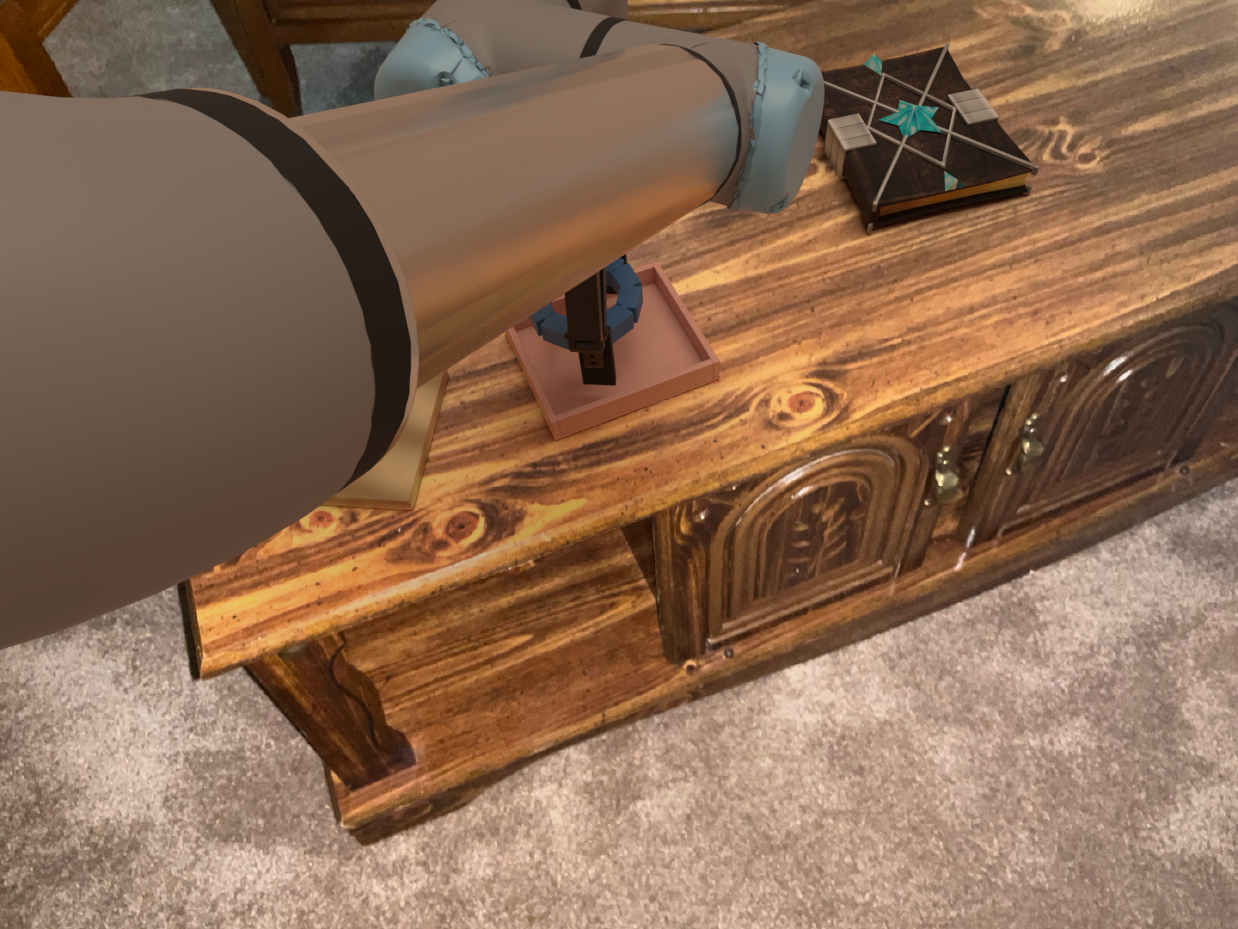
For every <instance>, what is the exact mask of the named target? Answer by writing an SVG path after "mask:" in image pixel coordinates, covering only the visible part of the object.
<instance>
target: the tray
mask: <svg viewBox="0 0 1238 929" xmlns="http://www.w3.org/2000/svg"><path fill="white" fill-rule="evenodd" d="M632 269H633V270H634V272H635V273H636V275H637V276H638V278H639V279H640V281H641V287H642V292H643V304H642V308H641V312H640V316H639V320H638V323H634V328H633V329H632V330H631V331H629V332H628V333H627V334H625V335H624V336H623V337H621V338H620V339H619V340H617V341H616V342H615V343H613V353H614V361H615V370H616V378H617V379H616V386H611V385H588V384H583V379H582V372H581V366H580V360H579V354H578V352H570V350H567V349H565V348H562V347H560V346H557V345H555V344H552V343H550V342H547V341H544V340H543V336H538V334H537V332H536V330H535V329H534V327H533V325H532V323H531V321H530V320H529V318H526V319H525V320H523V321H521V322H520V323H518V324H517V325H515V326H514V327H512V328H511V329H509V330H508V331H506V332H504V334H505V336H506V338H507V340H508V342H509V345H510V346H511V349H512V351H513V353H514V356H515V357H516V360H517V362H518V364H519V367H520V368H521V372H522V373H523V376H524V377H525V379H526V381H527V383H528V386H529V388H530V389H531V392H532V394H533V397H534V399H535V401H536V403H537V405H538V407H539V410H540V412H541V414H542V416H543V418H544V420H545V422H546V425H547V426H548V429H549V431H550V434H551V435H552V437H553V439H554V441H558V440H560V439H564V438H566V437H569V436H571V435H574V434H576V433H579V432H582V431H584V430H587V429H590V428H593V427H595V426H598V425H600V424H604V423H606V422H609V421H611V420H614V419H617V418H620V417H622V416H625V415H628V414H630V413H634V412H636V411H639V410H641V409H644V408H646V407H649V406H651V405H654V404H657V403H660V402H662V401H665V400H668V399H670V398H673V397H676V396H678V395H682V394H684V393H687V392H689V391H692V390H695V389H697V388H700V387H702V386H705V385H708V384H711V383H713V382H716V381H718V380H720V371H721V370H720V366H721V360H720V359H719V357H718V356H717V354H716V353H715V351H714V349H713V348H712V346H711V344H710V343H709V341H708V340H707V338H706V336H705V335H704V332H702V330H701V328H700V327H699V325H698V324H697V322H696V320H695V319H694V318H693V316H692V315H691V314H692V313H690V311H689V309H688V308H687V306H686V305H685V303H684V301H683V300H682V297H681V296H680V295H679V293H678V292H677V290H676V289H675V287H674V285H673V284H672V282H671V281H670V279H669V277H668V276H667V274H666V273H665V271H664V270H663V268H662V266H661V265H660V263H659V261H657V260H656V261H653V262H652V261H651V262H649V263H647V264H644V265H641V266H638V267H635V268H632ZM617 297H618V295H617V294H606V304H607V310H608V309H609V308H610V307H612V306H613V305H615V304H616V301H617ZM551 306H552V308H553V309H554V311H555V312H557V313H559V314H562V315H564V316H567V315H566V304H565V294H563V295H562V296H560V297H558V298H557V299H555V300H554V301H552V304H551Z"/></svg>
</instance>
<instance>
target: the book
mask: <svg viewBox="0 0 1238 929" xmlns="http://www.w3.org/2000/svg"><path fill="white" fill-rule="evenodd" d="M950 44H951V42H947V41H946V42H945V44H944V46H941V47H936V48H932V49H927V50H924V51H920V52H915V53H912V54H911V53H910V54H907V55H903V56H897V57H892V58H887V59H881V58H880V57H879V56H878V55H876V54H875V53H873V54H872V55H871V56H869V57H868V59H867V60H866V61H865V62H864V63H863V64H858V65H852V66H847V67H841V68H835V69H829V70H820V71H821V73H822V76H823V81H824V105H823V112H822V118H821V124H820V129H819V131H820V132H821V133H822V135H823V137H824V147H823V151H824V154H825V155H826V157H827V159H828V160H829V162H830V164H831V166H832V168H833V170H834V171H835V173H836V175H837V177H838V179H839V180H840V181H842V180H846V181H847V183H848V185H849V187H850V189H851V191H852V194H853V196H854V198H855V200H856V202H857V205H858V207H859V209H860V212H861V215H862V217H863V219H864V221H865V224H866V225H867V229H866V234H871V233H872V230H873V229H874V227H875V228H876V227H882V226H886V225H888V224H893V223H896V222H899V221H903V220H907V219H910V218H914V217H917V216H922V215H925V214H926V215H927V214H930V213H931V214H932V213H935V212H940V211H943V210H948V209H952V208H959V207H962V206H966V205H970V204H975V203H980V202H983V201H989V200H994V199H999V198H1005V197H1009V196H1010V197H1011V196H1015V195H1019V194H1025V195H1026V196H1029V195H1030V194H1031V192H1032V189H1033V185H1032V184H1030V183H1027V184H1025V182H1026V179H1027V176H1028V174H1030V175H1031V176H1034V177H1036V176H1037V175H1038V172H1039V170H1040V165H1037V164H1035V163H1033V161H1031V160H1030V159H1029V157H1028V156H1027V155H1026V154H1025V152H1023V150H1022V149H1020V147H1019V146H1018V145H1017V144H1016V142H1015V141H1014V140H1013V139H1012V138H1011V137H1010V135H1008V133H1007V132H1006V131H1005V130H1004V128H1003V127H1002V125H1001V124H1000V123H999V119H1000V116H999V115H998V113H997V112H996V110H995V109H994V107H993V106H992V105H991V103H990V102H989V101H988V99H987V98H986V97H985V95H984V94H983V93H982V92H981V90H980V88H974V89H972V87H971V86H970V85H969V84H968V82H967V81H966V80H965V78H964V77H963V74H962V72H961V71H960V69H959V67H958V65H957V64H956V62H955V60H954V58H953V56H952V55H951V52H950V51H949V49H950Z"/></svg>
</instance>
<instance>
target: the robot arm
mask: <svg viewBox="0 0 1238 929" xmlns="http://www.w3.org/2000/svg"><path fill="white" fill-rule="evenodd" d="M629 19H630V17H629V0H436V1H435V2H433V4H432V5H431V6H430V7H429V8H428V9H427V10H426V11H425V12H424V13H423V14H422V16H420V17H419V19H415V20H413V21H412V22H410V23H409V25H408V26H407V28H406V29H405V30H406V31H405V33H404V34H403V35H402V36H401V38H400V39H399V41H397V43H396V44H395V45H394V47H392V49H391V50H390V51H389V52H388V54H387V57H386V58H385V59H384V61H383V62H382V63H381V65H380V67H379V69H378V71H377V73H376V75H375V79H374V85H373V100H372V101H365V102H361V103H357V104H352V105H347V106H341V107H338V108H337V107H336V108H332V109H328V110H322V111H318V112H312V113H308V114H303V115H298V116H293V117H287V116H285V115H284V114H283V113H282V112H279V111H277V110H275V109H273V108H271V107H270V106H268V105H266V104H264V103H262V102H260V101H259V100H256V99H252V98H250V97H247V96H245V95H242V94H238V93H235V92H232V91H228V90H223V89H216V88H210V87H185V88H184V87H183V88H173V89H166V90H160V91H154V92H147V93H141V94H134V95H133V94H132V95H127V96H121V97H62V96H61V97H59V96H50V95H43V94H33V93H24V92H16V91H14V92H13V91H6V90H0V651H1V650H5V649H8V648H11V647H14V646H17V645H21V644H24V643H27V642H28V643H29V642H31V641H34V640H38V639H41V638H44V637H47V636H51V635H55V634H58V633H60V632H63V631H65V630H68V629H71V628H73V627H76V626H78V625H81V624H84V623H86V622H88V621H91V620H94V619H96V618H98V617H102V616H104V615H107V614H109V613H112V612H114V611H117V610H119V609H122V608H124V607H127V606H129V605H130V606H131V605H132V604H134V603H137V602H140V601H142V600H145V599H148V598H150V597H153V596H155V595H158V594H159V593H161V592H163V591H166V590H168V589H170V588H172V587H174V586H176V585H179V584H181V583H183V582H185V581H186V580H189V579H192V578H194V577H195V576H198V575H200V574H202V573H205V572H206V571H209V570H211V569H213V568H215V567H217V566H219V565H221V564H223V563H226V562H228V561H230V560H232V559H234V558H236V557H238V556H240V555H243V554H244V553H246V552H248V551H249V550H251V549H253V548H254V547H256V546H258V545H259V544H261V543H263V542H265V541H267V540H268V539H270V538H272V537H273V536H275V535H277V534H278V533H280V532H282V531H283V530H285V529H287V528H288V527H290V526H291V525H293V524H295V523H297V522H299V521H300V520H302V519H304V518H305V517H306V516H308V515H309V514H311V513H312V512H313V511H315V510H316V509H317V508H319V507H321V506H323V505H322V504H323V503H324V502H326V501H327V500H329V499H330V498H331V497H333V496H334V495H336V494H337V493H338V492H340V491H341V490H343V489H344V488H345V487H347V486H348V485H350V484H351V483H352V482H354V481H355V480H357V479H358V478H360V477H361V476H362V475H364V474H365V473H367V472H368V471H369V470H371V469H372V468H373V467H374V466H375V465H376V464H378V463H379V462H380V461H381V460H382V459H383V458H384V457H385V456H386V455H387V453H388V452H389V451H390V450H391V449H392V448H393V447H394V445H395V443H396V442H397V440H398V438H399V437H400V435H401V433H402V432H403V430H404V428H405V426H406V424H407V421H408V418H409V415H410V413H411V410H412V407H413V403H414V398H415V393H416V390H417V389H418V388H420V387H421V386H423V385H424V384H426V383H427V382H429V381H430V380H432V379H434V378H435V377H437V376H438V375H440V374H441V373H443V372H444V371H446V370H447V371H448V370H449V369H451V368H452V367H454V366H455V365H457V364H458V363H460V362H461V361H463V360H464V359H466V358H468V357H469V356H471V355H472V354H474V353H475V352H477V351H478V350H480V349H481V348H483V347H484V346H486V345H488V344H489V343H491V342H492V341H494V340H496V339H497V338H499V337H500V336H502V335H503V334H505V332H506V331H508V330H509V329H511V328H512V327H514V326H515V325H517V324H518V323H520V322H521V321H523V320H525V319H526V318H528V317H529V316H531V315H532V314H534V313H535V312H537V311H538V310H540V309H541V308H543V307H545V306H546V305H548V304H549V303H551V302H552V301H554V300H555V299H557V298H558V297H560V296H562V295H563V294H565V304H566V315H567V326H568V329H566V331H565V334H564V339H569V342H568V347H569V350H570V352H578V354H579V360H580V366H581V372H582V379H583V384H588V385H611V386H616V379H617V378H616V370H615V361H614V353H613V344H612V336H611V327H610V326H607V304H606V294H617V293H616V292H615V290H614V289H613V287H611V286H608V285H606V266H608V265H609V264H611V263H612V262H614V261H615V260H617V259H619V258H621V259H624V264H627V263H628V256H627V254H628V253H629V252H631V251H633V250H634V249H635V248H637V247H639V246H640V245H642V244H643V243H645V242H646V241H648V240H650V239H651V238H652V237H654V236H656V235H657V234H659V233H660V232H662V231H664V230H665V229H667V228H668V227H669V226H672V225H673V224H674V223H676V222H678V221H679V220H680V219H682V218H683V217H685V216H687V215H688V214H689V213H691V212H693V211H695V210H696V209H698V208H700V207H702V206H704V205H706V204H708V203H713V204H714V203H715V204H719V205H721V206H725V207H726V209H727V210H728V211H729V210H731V211H733V212H736V211H746V212H751V213H757V214H763V215H776V214H780V213H782V212H783V211H785V210H786V209H787V208H788V207H789V206H791V204H792V203H793V201H794V200H795V199H796V197H797V195H798V194H799V192H800V190H801V188H802V186H803V183H804V182H805V179H806V177H807V174H808V170H809V167H810V165H811V162H812V159H813V156H814V152H815V150H816V149H815V148H816V144H817V142H818V137H819V132H820V124H821V118H822V112H823V105H824V81H823V76H822V73H821V71H822V70H821V69H820V67H819V65H818V64H817V63H816V62H815V61H814V60H813V59H811V58H809V57H807V56H804V55H801V54H797V53H793V52H789V51H785V50H781V49H776V48H773V47H769V46H768V45H767V44H766V43H765V42H763V41H756V40H755V41H754V42H753V43H750V42H745V41H741V40H735V39H729V38H723V37H717V36H712V35H708V34H707V35H706V34H702V33H697V32H690V31H685V30H679V29H674V28H668V27H663V26H659V25H658V26H657V25H652V24H647V23H641V22H636V21H630V20H629Z"/></svg>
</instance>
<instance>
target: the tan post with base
mask: <svg viewBox="0 0 1238 929" xmlns="http://www.w3.org/2000/svg"><path fill="white" fill-rule="evenodd" d="M449 377H450V375H449V371H448V369H447V370H446V371H444V372H443V373H441V374H440V375H438V376H437V377H435V378H434V379H432V380H430V381H429V382H427V383H426V384H424V385H423V386H421V387H420V388H418V389H417V390H416V393H415V398H414V403H413V407H412V410H411V413H410V415H409V418H408V421H407V424H406V426H405V428H404V430H403V432H402V433H401V435H400V437H399V438H398V440H397V442H396V443H395V445H394V447H393V448H392V449H391V450H390V451H389V452H388V453H387V455H386V456H385V457H384V458H383V459H382V460H381V461H380V462H379V463H378V464H376V465H375V466H374V467H373V468H372V469H371V470H369V471H368V472H367V473H365V474H364V475H362V476H361V477H360V478H358V479H357V480H355V481H354V482H352V483H351V484H350V485H348V486H347V487H345V488H344V489H343V490H341V491H340V492H338V493H337V494H336V495H334V496H333V497H331V498H330V499H329V500H327V501H326V502H324V503H323V504H322V505H321V506H333V507H348V508H349V507H350V508H366V509H380V510H381V509H382V510H395V511H396V510H399V511H414V508H415V505H416V500H417V497H418V494H419V489H420V487H421V486H420V485H421V482H422V479H423V474H424V471H425V467H426V464H427V460H428V457H429V456H428V455H429V452H430V448H431V444H432V441H433V437H434V433H435V430H436V427H437V422H438V419H439V415H440V411H441V407H442V404H443V400H444V395H445V392H446V388H447V385H448V380H449Z"/></svg>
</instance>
